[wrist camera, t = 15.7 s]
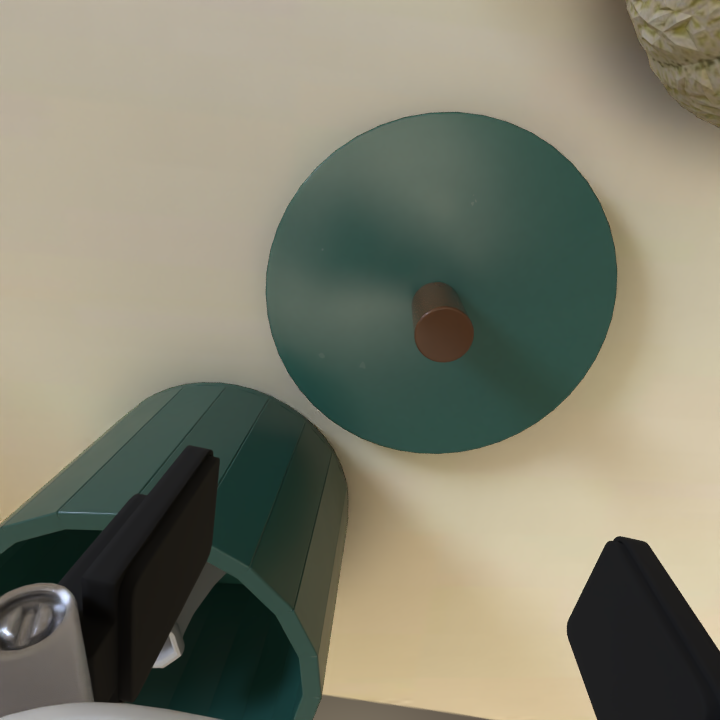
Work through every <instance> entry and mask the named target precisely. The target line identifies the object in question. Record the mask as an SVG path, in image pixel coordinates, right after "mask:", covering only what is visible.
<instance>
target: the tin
mask: <svg viewBox="0 0 720 720" xmlns="http://www.w3.org/2000/svg"><path fill="white" fill-rule="evenodd" d="M188 445H192V446H197V447H201V448H206V449H211V450H212V451H213V456H214V457H218V458H219V459H220V466H219V477H218V487H217V498H216V509H215V519H214V530H213V541H212V548H211V551H210V555H209V557H208V560H207V562H208V563H210V564H212V565H214V566H215V567H217V568H219V569H221V570H223V571H224V572H226V574H225V575H224V576H223V577H222V578H221V579H220V580H219V581H218V582H217V583H216V584H215V585H214V586H213V588H212V589H211V590H210V592H209V593H208V595H207V596H206V597H205V599H204V600H203V601H202V603H201V604H200V606H199V607H198V608H197V610H196V611H195V613H194V614H193V616H192V618H191V620H190V622H189V624H188V626H187V628H186V630H185V632H184V635H183V641H184V644H185V647H184V652H183V653H182V655H181V656H180V657H179V658H177V659H176V660H175V661H173V662H172V663H170V664H169V665H167V666H166V667H164V668H152V669H151V671H150V673H149V675H148V677H147V679H146V681H145V683H144V685H143V687H142V689H141V691H140V693H139V695H138V696H137V698H136V700H135V701H134V702H133V703H130V702H126V701H125V703H127V704H134V705H141V706H148V707H156V708H163V709H170V710H175V711H180V712H186V713H191V714H196V715H201V716H206V717H212V718H217V719H222V720H313V718H314V715H315V713H316V710H317V708H318V705H319V703H320V700H321V697H322V691H323V684H324V677H325V671H326V664H327V657H328V651H329V644H330V637H331V630H332V624H333V617H334V610H335V603H336V597H337V590H338V583H339V577H340V570H341V563H342V556H343V550H344V543H345V536H346V529H347V523H348V490H347V484H346V479H345V476H344V473H343V470H342V467H341V464H340V462H339V460H338V458H337V456H336V454H335V452H334V451H333V449H332V448H331V446H330V445H329V443H328V442H327V440H326V439H325V438H324V436H323V435H322V434H321V433H320V432H319V431H318V430H317V429H316V427H315V426H314V425H313V424H311V423H310V422H309V421H308V420H307V419H306V418H305V417H303V416H302V415H301V414H300V413H298V412H297V411H295V410H294V409H293V408H291V407H290V406H288V405H287V404H285V403H283V402H281V401H279V400H277V399H275V398H273V397H272V396H269V395H267V394H264V393H262V392H259V391H256V390H254V389H250V388H246V387H242V386H238V385H232V384H225V383H205V382H202V383H193V384H185V385H181V386H177V387H172V388H169V389H167V390H164V391H162V392H159V393H156V394H155V395H153V396H151V397H149V398H147V399H145V400H144V401H143V402H141V403H140V404H139V405H138V406H136V407H135V408H134V409H133V410H131V411H130V412H129V413H128V414H126V415H125V416H124V417H122V418H121V419H120V420H119V421H118V422H117V423H115V424H114V425H113V426H112V427H111V428H110V429H109V430H107V431H106V432H105V433H104V434H103V435H102V436H101V437H99V438H98V439H97V440H96V441H95V442H94V443H93V444H91V445H90V446H89V447H88V448H87V449H86V450H84V451H83V452H82V453H81V454H80V455H79V456H78V457H76V458H75V459H74V460H73V461H72V462H71V463H70V464H68V465H67V466H66V467H65V468H64V469H63V470H62V471H60V472H59V473H58V474H57V475H56V476H55V477H54V478H52V479H51V480H50V481H49V482H48V483H47V484H46V485H44V486H43V487H42V488H41V489H40V490H39V491H38V492H36V493H35V494H34V495H33V496H32V497H31V498H30V499H28V500H27V501H26V502H25V503H24V504H23V505H21V506H20V507H19V508H18V509H17V510H16V511H15V512H13V513H12V514H11V515H10V516H9V517H8V518H7V519H5V520H4V521H3V522H2V523H1V524H0V597H1V596H2V595H4V594H6V593H7V592H9V591H12V590H15V589H17V588H20V587H22V586H26V585H31V584H36V583H54V584H58V583H59V582H60V580H61V579H62V578H63V577H64V576H65V575H66V573H67V572H68V571H69V570H70V569H71V567H72V566H73V565H74V564H75V563H76V562H77V560H78V559H79V558H80V557H81V556H82V555H83V553H84V552H85V551H86V550H87V549H88V547H89V546H90V545H91V544H92V543H93V542H94V540H95V539H96V538H97V537H98V536H99V535H100V533H101V532H102V531H103V530H104V529H105V527H106V526H107V525H108V524H109V523H110V522H111V520H112V519H113V518H114V517H115V516H116V515H117V513H118V512H119V511H120V510H121V509H122V507H123V506H124V505H125V504H126V503H127V502H128V500H129V499H130V498H131V497H132V496H134V495H135V494H138V493H139V494H144V495H148V494H149V492H150V491H151V490H152V489H153V487H154V486H155V485H156V484H157V482H158V481H159V480H160V479H161V477H162V476H163V475H164V474H165V473H166V471H167V470H168V469H169V468H170V466H171V465H172V464H173V463H174V461H175V460H176V459H177V458H178V456H179V455H180V454H181V453H182V451H183V450H184V449H185V448H186V447H187V446H188Z"/></svg>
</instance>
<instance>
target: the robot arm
mask: <svg viewBox="0 0 720 720" xmlns="http://www.w3.org/2000/svg"><path fill="white" fill-rule="evenodd" d="M219 466H220V459H219V458H218V457H214V456H213V451H212V450H211V449H206V448H201V447H197V446H192V445H188V446H187V447H186V448H185V449H184V450H183V451H182V453H181V454H180V455H179V456H178V458H177V459H176V460H175V461H174V463H173V464H172V465H171V466H170V468H169V469H168V470H167V471H166V473H165V474H164V475H163V476H162V477H161V479H160V480H159V481H158V482H157V484H156V485H155V486H154V487H153V489H152V490H151V491H150V492H149V494H148V495H144V494H139V493H138V494H135V495H134V496H132V497H131V498H130V499H129V500H128V502H127V503H126V504H125V505H124V506H123V507H122V509H121V510H120V511H119V512H118V513H117V515H116V516H115V517H114V518H113V519H112V520H111V522H110V523H109V524H108V525H107V526H106V527H105V529H104V530H103V531H102V532H101V533H100V535H99V536H98V537H97V538H96V539H95V540H94V542H93V543H92V544H91V545H90V546H89V547H88V549H87V550H86V551H85V552H84V553H83V555H82V556H81V557H80V558H79V559H78V560H77V562H76V563H75V564H74V565H73V566H72V567H71V569H70V570H69V571H68V572H67V573H66V575H65V576H64V577H63V578H62V579H61V580H60V582H59V583H58V584H54V583H36V584H31V585H26V586H22V587H20V588H17V589H15V590H12V591H9V592H7V593H6V594H4V595H2V596H1V597H0V720H222V719H217V718H212V717H206V716H201V715H196V714H191V713H186V712H180V711H175V710H170V709H163V708H156V707H148V706H141V705H134V704H127V703H125V701H126V702H130V703H133V702H134V701H135V700H136V698H137V696H138V695H139V693H140V691H141V689H142V687H143V685H144V683H145V681H146V679H147V677H148V675H149V673H150V671H151V669H152V667H153V666H154V664H155V662H156V660H157V658H158V656H159V654H160V652H161V650H162V648H163V646H164V644H165V642H166V640H167V638H168V636H169V634H170V632H171V630H172V628H173V626H174V624H175V623H176V621H177V619H178V617H179V615H180V613H181V611H182V609H183V607H184V605H185V603H186V601H187V599H188V597H189V595H190V593H191V591H192V589H193V587H194V585H195V583H196V581H197V580H198V578H199V576H200V574H201V572H202V570H203V568H204V566H205V564H206V562H207V560H208V557H209V555H210V551H211V548H212V541H213V530H214V519H215V509H216V498H217V487H218V477H219ZM567 635H568V639H569V642H570V645H571V648H572V650H573V653H574V656H575V659H576V662H577V664H578V667H579V670H580V673H581V676H582V678H583V681H584V684H585V687H586V690H587V692H588V695H589V698H590V701H591V703H592V706H593V709H594V712H595V715H596V717H597V720H720V651H719V650H718V648H717V647H716V645H715V644H714V642H713V641H712V639H711V638H710V636H709V635H708V633H707V632H706V630H705V629H704V627H703V626H702V624H701V623H700V621H699V620H698V618H697V617H696V615H695V614H694V612H693V611H692V609H691V608H690V606H689V605H688V603H687V602H686V600H685V599H684V597H683V596H682V594H681V593H680V591H679V590H678V588H677V587H676V585H675V584H674V582H673V581H672V579H671V578H670V576H669V575H668V573H667V572H666V570H665V569H664V567H663V566H662V564H661V563H660V561H659V560H658V558H657V557H656V555H655V554H654V552H653V551H652V549H651V548H650V546H649V545H648V544H647V543H646V542H644V541H640V540H635V539H631V538H626V537H621V536H620V537H616V538H615V539H614V540H613V541H609V542H607V543H606V545H605V547H604V549H603V551H602V553H601V555H600V557H599V559H598V561H597V563H596V565H595V567H594V569H593V571H592V573H591V575H590V577H589V579H588V581H587V583H586V585H585V587H584V589H583V591H582V593H581V595H580V597H579V600H578V602H577V604H576V606H575V608H574V610H573V612H572V614H571V616H570V618H569V620H568V623H567Z"/></svg>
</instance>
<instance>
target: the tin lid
mask: <svg viewBox="0 0 720 720" xmlns="http://www.w3.org/2000/svg"><path fill="white" fill-rule="evenodd" d="M616 287H617V264H616V254H615V246H614V242H613V238H612V234H611V230H610V226H609V223H608V221H607V218H606V216H605V214H604V211H603V209H602V206H601V204H600V202H599V200H598V198H597V197H596V195H595V194H594V192H593V190H592V189H591V187H590V185H589V184H588V182H587V181H586V179H585V178H584V177H583V176H582V175H581V173H580V172H579V171H578V170H577V169H576V167H575V166H574V165H573V164H572V163H571V162H570V161H569V160H568V159H567V158H566V157H565V156H563V155H562V154H561V153H560V152H559V151H558V150H557V149H555V148H554V147H553V146H552V145H550V144H549V143H547V142H546V141H544V140H542V139H541V138H539V137H538V136H536V135H535V134H533V133H532V132H529V131H527V130H525V129H523V128H520V127H518V126H516V125H514V124H511V123H509V122H506V121H502V120H499V119H495V118H492V117H488V116H484V115H478V114H469V113H461V112H439V113H426V114H420V115H415V116H409V117H404V118H401V119H398V120H395V121H391V122H388V123H385V124H382V125H379V126H377V127H375V128H373V129H371V130H369V131H367V132H365V133H363V134H361V135H359V136H357V137H355V138H354V139H352V140H351V141H349V142H348V143H346V144H345V145H343V146H342V147H340V148H339V149H337V150H336V151H335V152H334V153H332V154H331V155H330V156H329V157H328V158H327V159H326V160H325V161H323V162H322V163H321V164H320V165H319V166H318V167H317V168H316V169H315V170H314V171H313V172H312V174H311V175H310V176H309V177H308V178H307V179H306V181H305V182H304V183H303V184H302V185H301V186H300V188H299V190H298V191H297V193H296V194H295V196H294V197H293V199H292V200H291V202H290V203H289V205H288V207H287V209H286V211H285V213H284V215H283V217H282V219H281V221H280V223H279V226H278V228H277V231H276V234H275V237H274V240H273V243H272V247H271V250H270V256H269V261H268V267H267V275H266V302H267V314H268V319H269V324H270V328H271V333H272V336H273V339H274V342H275V345H276V347H277V350H278V353H279V356H280V357H281V359H282V361H283V363H284V365H285V367H286V369H287V371H288V373H289V375H290V376H291V377H292V379H293V380H294V382H295V383H296V385H297V386H298V388H299V389H300V390H301V392H302V393H303V394H304V395H305V396H306V397H307V398H308V399H309V401H310V402H311V403H312V404H313V405H314V406H315V407H316V408H317V409H319V410H320V411H321V412H322V413H323V414H324V415H325V416H326V417H328V418H329V419H330V420H332V421H333V422H335V423H336V424H338V425H339V426H341V427H342V428H343V429H345V430H347V431H349V432H351V433H353V434H355V435H356V436H358V437H360V438H362V439H365V440H367V441H370V442H373V443H375V444H378V445H381V446H384V447H388V448H392V449H396V450H400V451H407V452H414V453H430V454H442V453H454V452H462V451H467V450H473V449H478V448H481V447H485V446H488V445H491V444H494V443H497V442H500V441H502V440H505V439H507V438H509V437H511V436H514V435H516V434H518V433H520V432H522V431H523V430H525V429H527V428H528V427H530V426H532V425H534V424H535V423H537V422H538V421H540V420H541V419H542V418H544V417H545V416H546V415H548V414H549V413H550V412H552V411H553V410H554V409H555V408H556V407H557V406H558V405H559V404H560V403H561V402H562V401H564V400H565V399H566V398H567V397H568V396H569V395H570V394H571V392H572V391H573V390H574V389H575V388H576V386H577V385H578V384H579V383H580V382H581V380H582V379H583V378H584V376H585V375H586V373H587V372H588V370H589V368H590V367H591V365H592V364H593V362H594V361H595V359H596V357H597V355H598V353H599V351H600V348H601V346H602V344H603V342H604V340H605V337H606V334H607V331H608V328H609V325H610V322H611V319H612V315H613V309H614V304H615V298H616Z"/></svg>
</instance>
